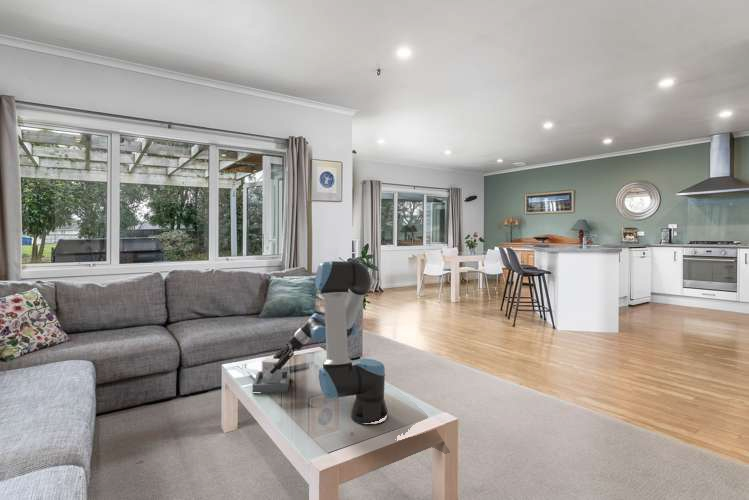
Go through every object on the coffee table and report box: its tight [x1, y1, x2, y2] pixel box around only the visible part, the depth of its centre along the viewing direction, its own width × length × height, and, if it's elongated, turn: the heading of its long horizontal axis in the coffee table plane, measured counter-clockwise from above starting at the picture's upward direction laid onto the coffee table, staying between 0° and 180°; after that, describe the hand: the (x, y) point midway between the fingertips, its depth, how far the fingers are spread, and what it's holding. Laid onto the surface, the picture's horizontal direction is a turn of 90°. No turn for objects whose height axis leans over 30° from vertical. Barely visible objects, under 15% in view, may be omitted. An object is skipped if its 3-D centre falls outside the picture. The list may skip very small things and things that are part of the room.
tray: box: [252, 370, 291, 394], centre depth 193 cm, size 18×16×4 cm
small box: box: [262, 357, 283, 383], centre depth 193 cm, size 8×6×10 cm
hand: (265, 374), depth 192 cm, fingers closed on small box, 8 cm apart
